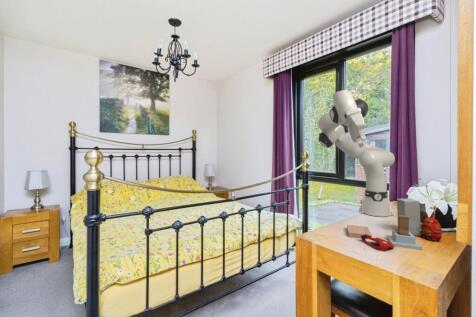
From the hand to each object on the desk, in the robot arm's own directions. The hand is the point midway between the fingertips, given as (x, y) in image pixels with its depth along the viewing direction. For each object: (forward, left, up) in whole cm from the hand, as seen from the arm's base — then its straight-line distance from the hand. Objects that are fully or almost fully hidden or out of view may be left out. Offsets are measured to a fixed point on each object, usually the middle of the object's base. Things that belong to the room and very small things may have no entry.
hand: (363, 143), depth 112 cm
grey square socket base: (+9, +15, -42) cm, 45 cm away
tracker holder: (+15, +4, -42) cm, 45 cm away
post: (+9, +15, -40) cm, 44 cm away
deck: (+3, -1, -42) cm, 42 cm away
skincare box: (-7, +21, -42) cm, 47 cm away
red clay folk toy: (-2, +28, -42) cm, 50 cm away
